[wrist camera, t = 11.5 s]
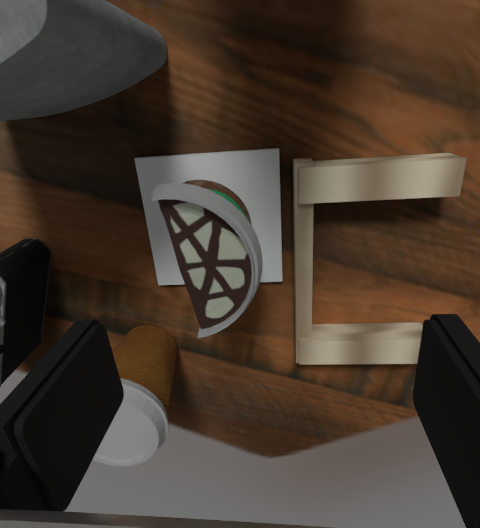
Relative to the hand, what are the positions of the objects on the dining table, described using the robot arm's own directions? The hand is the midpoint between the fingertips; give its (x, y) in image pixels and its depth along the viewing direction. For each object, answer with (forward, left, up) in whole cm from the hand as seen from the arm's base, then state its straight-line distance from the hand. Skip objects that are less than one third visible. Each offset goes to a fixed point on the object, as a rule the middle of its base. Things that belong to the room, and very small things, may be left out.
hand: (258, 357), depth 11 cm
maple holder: (-9, +9, -25) cm, 28 cm away
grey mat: (+5, +4, -25) cm, 25 cm away
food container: (+3, +4, -24) cm, 25 cm away
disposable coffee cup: (+14, +19, -25) cm, 34 cm away
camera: (+28, +11, -25) cm, 39 cm away
